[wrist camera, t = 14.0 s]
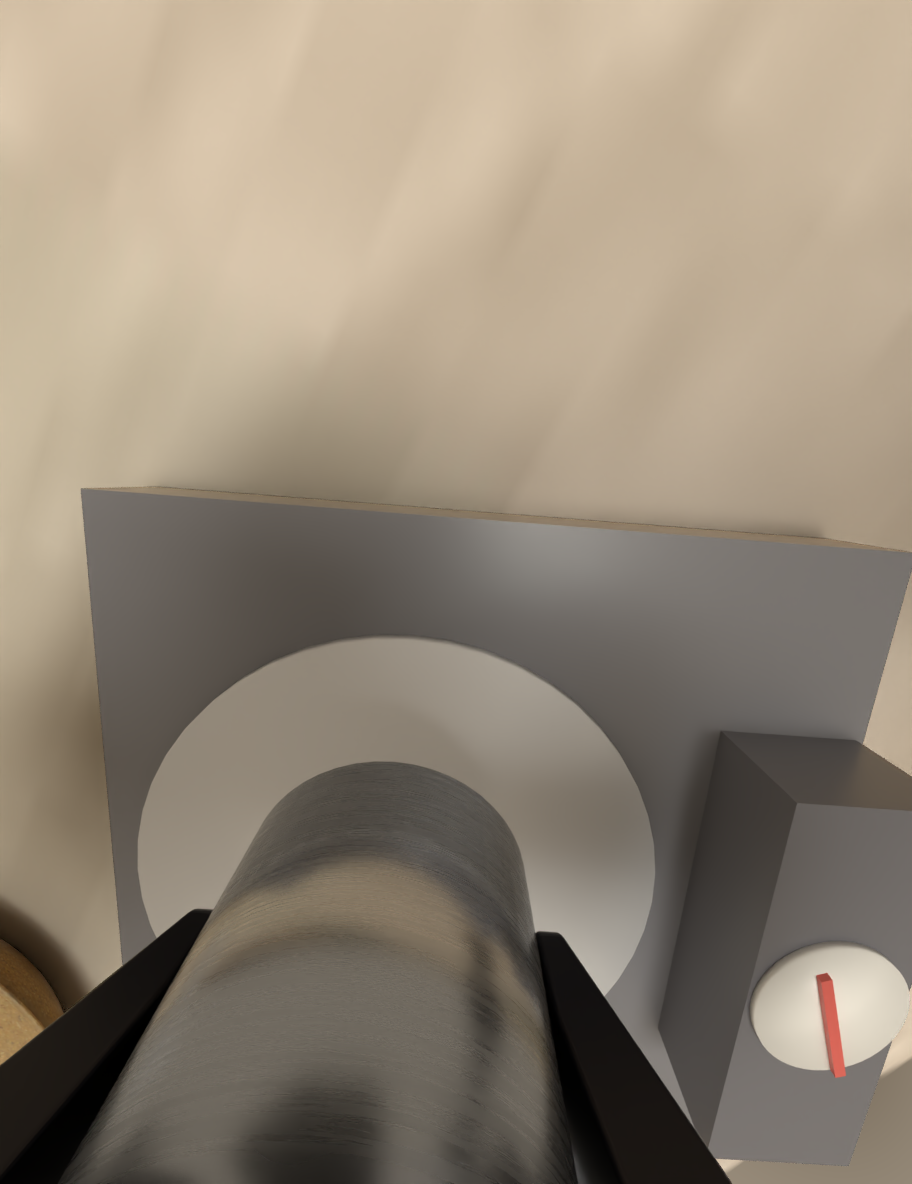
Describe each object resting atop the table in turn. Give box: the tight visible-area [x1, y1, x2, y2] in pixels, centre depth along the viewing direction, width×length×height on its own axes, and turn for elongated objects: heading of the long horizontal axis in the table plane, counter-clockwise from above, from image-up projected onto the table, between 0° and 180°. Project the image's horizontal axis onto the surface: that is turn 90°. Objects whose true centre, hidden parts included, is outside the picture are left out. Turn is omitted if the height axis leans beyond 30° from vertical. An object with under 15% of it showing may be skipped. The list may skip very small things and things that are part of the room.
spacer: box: [58, 761, 578, 1184], centre depth 7 cm, size 5×5×5 cm
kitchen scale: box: [81, 487, 912, 1166], centre depth 14 cm, size 20×20×6 cm
